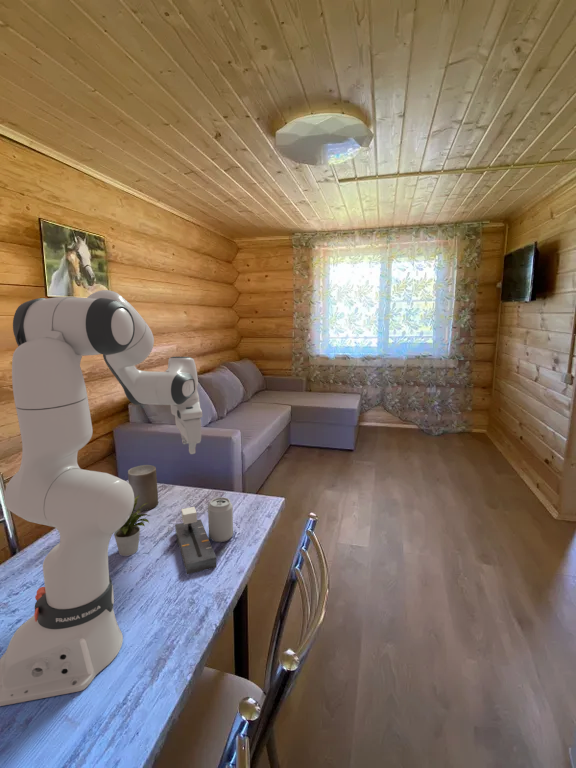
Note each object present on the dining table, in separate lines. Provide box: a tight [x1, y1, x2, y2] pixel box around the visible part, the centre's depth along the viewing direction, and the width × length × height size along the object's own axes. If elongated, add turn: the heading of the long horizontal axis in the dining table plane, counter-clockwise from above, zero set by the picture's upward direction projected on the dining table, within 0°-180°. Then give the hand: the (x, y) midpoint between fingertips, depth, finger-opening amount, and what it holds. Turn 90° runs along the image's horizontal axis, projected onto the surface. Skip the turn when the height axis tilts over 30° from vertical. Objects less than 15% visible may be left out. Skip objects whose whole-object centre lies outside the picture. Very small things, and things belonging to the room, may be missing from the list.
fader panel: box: [174, 518, 217, 575], centre depth 113 cm, size 8×22×3 cm, turn 24°
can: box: [207, 496, 234, 543], centre depth 119 cm, size 8×8×12 cm
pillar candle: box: [127, 464, 159, 512], centre depth 139 cm, size 10×10×15 cm
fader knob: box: [181, 506, 198, 527], centre depth 120 cm, size 4×4×5 cm
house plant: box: [113, 495, 151, 557], centre depth 110 cm, size 14×14×16 cm
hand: (188, 448), depth 123 cm, fingers open, 8 cm apart
